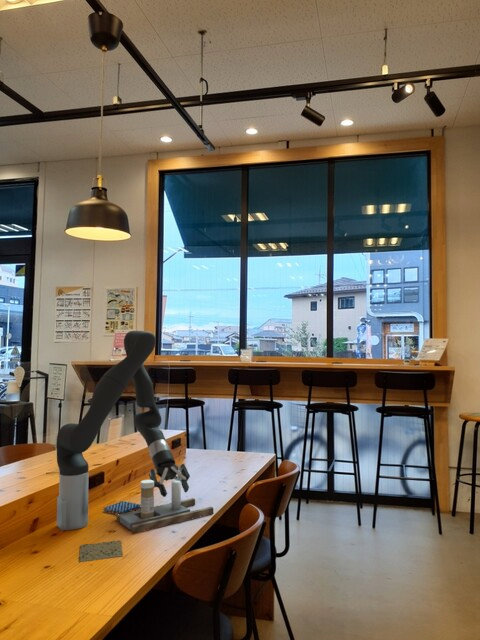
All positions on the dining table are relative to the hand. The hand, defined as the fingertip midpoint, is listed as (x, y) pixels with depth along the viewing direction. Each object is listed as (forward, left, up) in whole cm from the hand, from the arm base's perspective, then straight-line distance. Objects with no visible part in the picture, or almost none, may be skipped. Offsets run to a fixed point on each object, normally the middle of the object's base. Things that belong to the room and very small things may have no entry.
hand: (176, 493), depth 167 cm
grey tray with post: (-8, 0, -7) cm, 11 cm away
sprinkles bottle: (-11, 0, -8) cm, 13 cm away
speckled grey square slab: (-32, -14, -8) cm, 36 cm away
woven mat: (-13, +17, -8) cm, 23 cm away
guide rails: (-4, 0, -7) cm, 8 cm away
